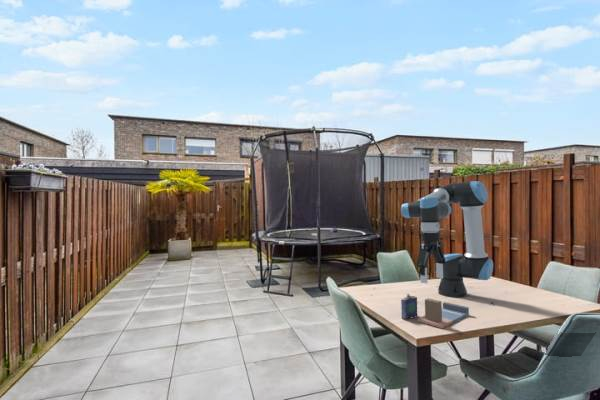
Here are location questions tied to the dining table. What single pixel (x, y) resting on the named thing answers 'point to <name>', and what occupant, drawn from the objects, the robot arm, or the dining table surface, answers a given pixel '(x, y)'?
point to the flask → (409, 307)
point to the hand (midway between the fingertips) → (432, 280)
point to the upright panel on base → (434, 314)
